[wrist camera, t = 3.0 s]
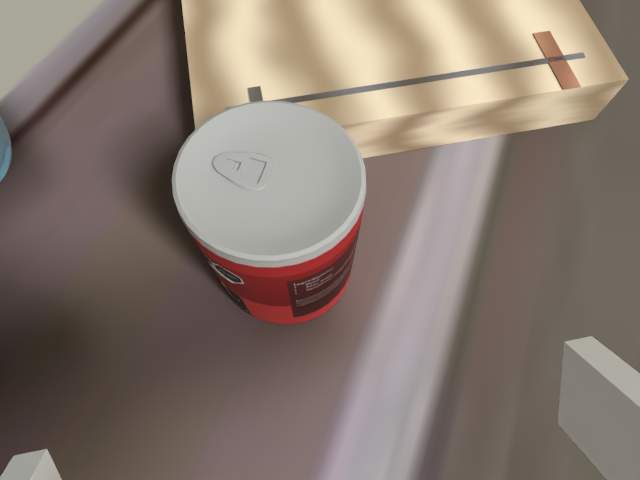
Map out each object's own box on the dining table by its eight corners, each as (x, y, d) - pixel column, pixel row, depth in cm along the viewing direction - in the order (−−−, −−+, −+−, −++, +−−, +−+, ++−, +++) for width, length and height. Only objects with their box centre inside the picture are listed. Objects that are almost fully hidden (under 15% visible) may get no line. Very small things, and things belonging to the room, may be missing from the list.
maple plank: (211, 183, 30) (196, 147, 27) (188, -14, 38) (174, -63, 35) (594, 119, 33) (629, 78, 29) (497, -55, 41) (515, -105, 37)
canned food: (230, 211, 30) (184, 95, 19) (350, 215, 29) (367, 99, 19) (215, 326, 26) (152, 258, 16) (350, 330, 26) (369, 265, 16)
